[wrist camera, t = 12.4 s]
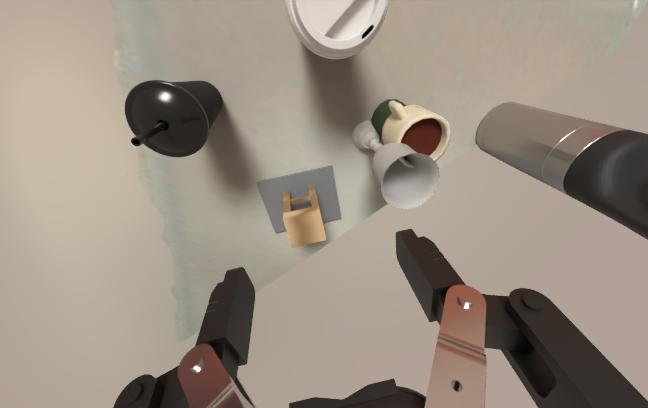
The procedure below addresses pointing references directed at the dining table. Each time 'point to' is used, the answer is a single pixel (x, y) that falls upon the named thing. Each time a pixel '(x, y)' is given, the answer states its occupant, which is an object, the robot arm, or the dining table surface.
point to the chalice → (398, 169)
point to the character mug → (412, 128)
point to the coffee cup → (336, 24)
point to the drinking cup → (172, 115)
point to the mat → (300, 194)
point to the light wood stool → (303, 220)
